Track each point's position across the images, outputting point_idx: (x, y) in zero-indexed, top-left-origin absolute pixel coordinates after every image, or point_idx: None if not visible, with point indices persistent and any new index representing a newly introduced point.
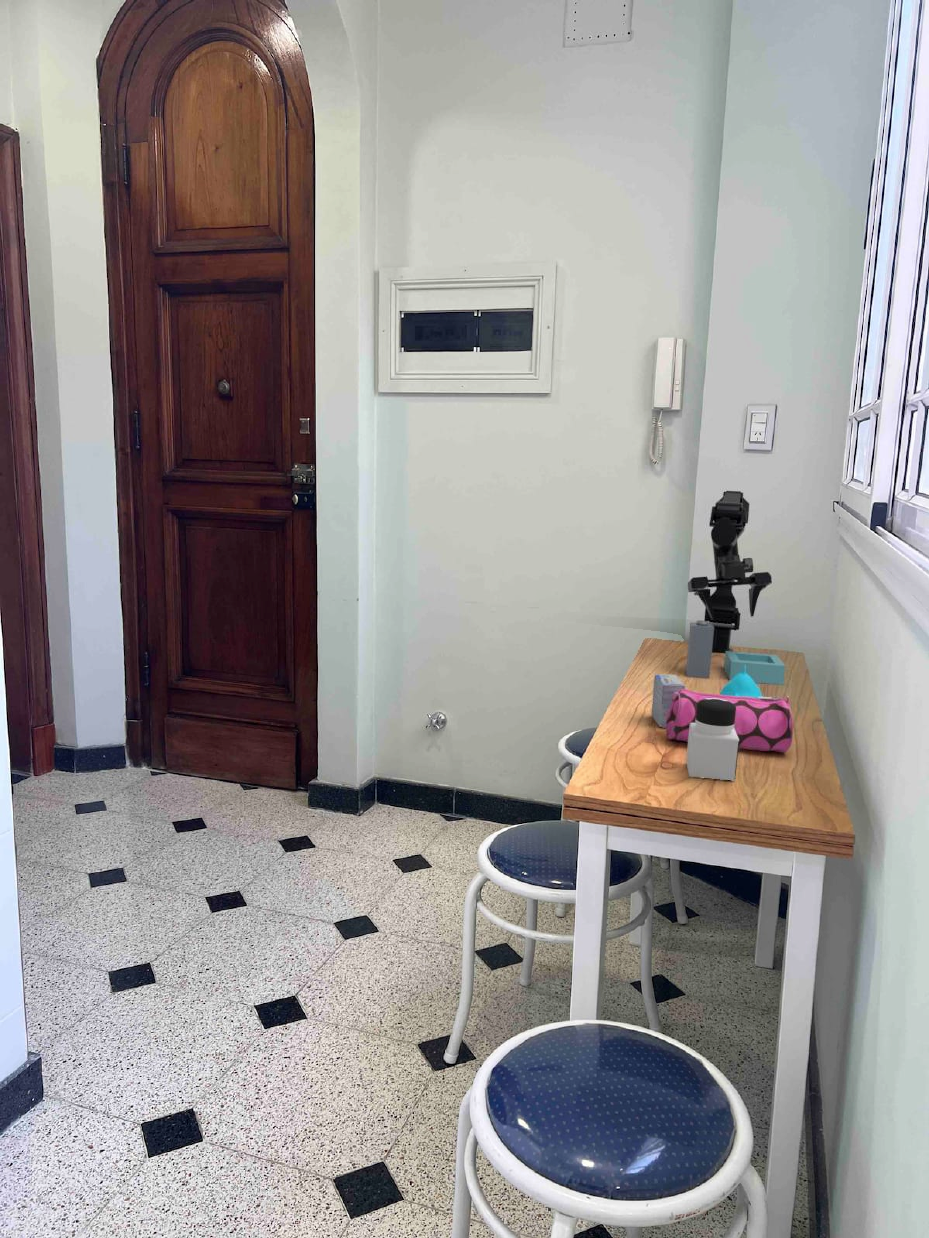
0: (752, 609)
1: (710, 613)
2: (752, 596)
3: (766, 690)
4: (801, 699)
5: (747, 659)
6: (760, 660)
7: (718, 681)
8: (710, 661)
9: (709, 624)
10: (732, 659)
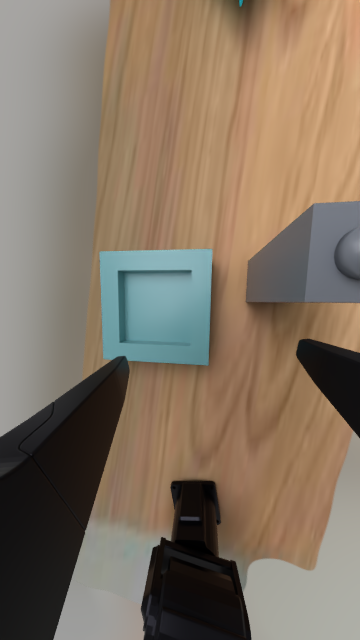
0: (109, 369)
1: (338, 350)
2: (50, 438)
3: (154, 207)
4: (104, 163)
5: (164, 342)
6: (140, 341)
7: (232, 244)
8: (260, 250)
9: (321, 278)
10: (206, 274)
